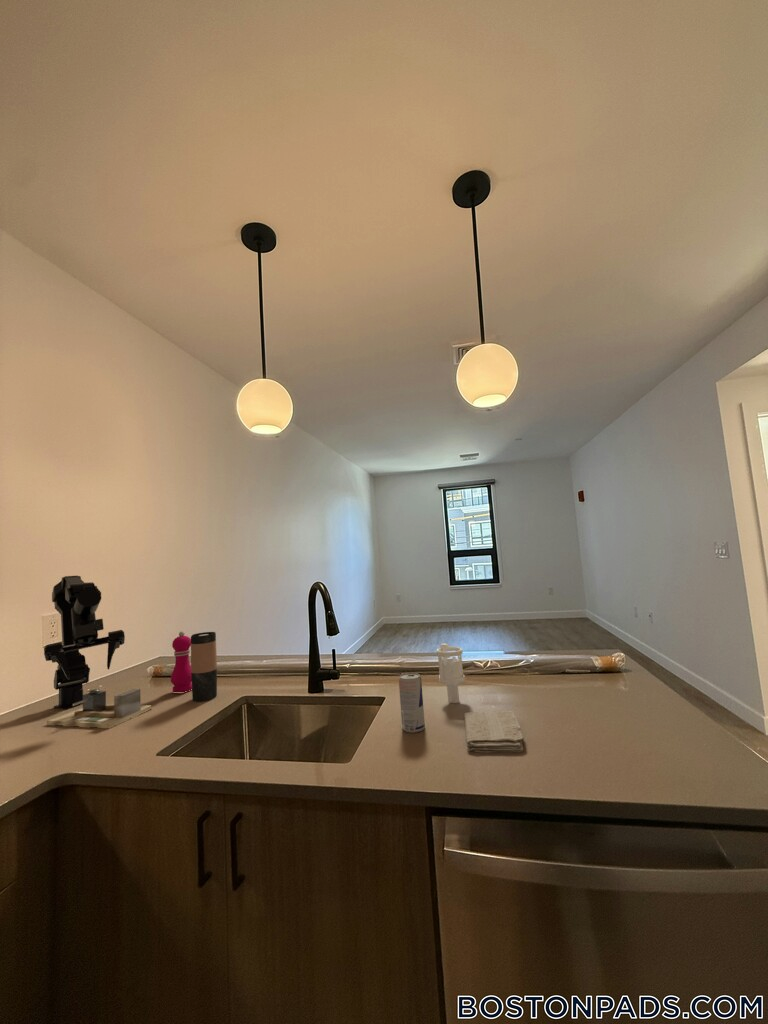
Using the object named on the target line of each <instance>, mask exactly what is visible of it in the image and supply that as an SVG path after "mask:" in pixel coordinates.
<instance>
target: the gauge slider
mask: <svg viewBox="0 0 768 1024" xmlns="http://www.w3.org/2000/svg"><path fill="white" fill-rule="evenodd" d="M106 692H107V691H106V690H100V688H96V689H91V690H89V692H88V693H86V694H83V700H82V701H79V702H77V703H74V704H73V707H76V706H78V704H79V705H81V703H82V707H83V711H95V712H100V711H102V710H105V709H106V704H107V701H106V700H107V698H106V697H107V693H106ZM75 705H76V706H75Z"/></svg>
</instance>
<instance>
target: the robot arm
mask: <svg viewBox="0 0 768 1024" xmlns="http://www.w3.org/2000/svg"><path fill="white" fill-rule="evenodd" d="M101 600H102V591H101V590H100V589H99V588H98V586H97V585H95V583H94V582H85V581H84V580H82V577H81V576H80V575H64V576H63V577H61V580H60V582H58V583H57V584H55V585H53V589H52V592H51V602H52V603H54V609H55V610H56V611H57V612H58V613H59V614H60V621H61V622H60V627H61V641H59V642H54V643H49V644H46V645H45V646H44V647H43V654H44V658H45V661H46V662H50V661H51V663H57V666H56V668H57V669H55V671H54V672H55V673H54V676H53V677H54V678H53V688H54V689H55V690H56V691H57V690H58V704H57V705H54V706H53V708H54V709H70V708H73V707H76V706H78V705H81V704H82V705H83V703H81V704H78V705H75V706H73V704H74V703H77V702H79V701H82V700H83V695H84V687H83V684H88V682H90V671H91V668H90V667H89V665H88V663H87V661H86V656H85V655H84V654H82V653H81V652H80V650H82V649H87V648H92V647H97V646H102V645H105V644H107V659H106V661H107V662H106V667H107V670H110V667H111V664H112V660H113V656H114V653H115V651H116V650H117V649H119V648H120V646H122V645H124V644H125V639H126V636H125V631H124V630H122V629H119V630H114V631H108V633H107V636H103V637H99V633H98V631H104V629H105V628H104V621H103V618H98V619H97V617H96V612H97V611H98V610H97V609H98V608H99V605H100V603H101Z"/></svg>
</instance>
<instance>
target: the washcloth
mask: <svg viewBox="0 0 768 1024" xmlns="http://www.w3.org/2000/svg"><path fill="white" fill-rule="evenodd" d="M463 715H464V716H463V717H464V718H463V719H464V724H465V725H464V729H465V743H466V747H467V748H466V750H467V752H468V753H469V752H477V753H521V752H523V751H524V746H523V741H522V740H524V736H523V733H522V728H521V726H520V724H519V721H518V719H517V717H516V716H515V713H514V711H513V710H497V711H489V712H485V711H481V712H480V711H476V712H474V711H473V712H472V711H471V712H464V714H463Z"/></svg>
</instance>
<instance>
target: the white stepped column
mask: <svg viewBox="0 0 768 1024" xmlns="http://www.w3.org/2000/svg"><path fill="white" fill-rule="evenodd" d="M436 655H437V658H438V659H437V661H438V671H439V672H438V674H439V676H438V682H439V683H440V684H444V685H446V690H447V691H446V692H447V702H448V703H449V704H458V703H459V702H460V695H459V694H460V693H459V684H462V683H464V682H466V678H465V677H466V676H465V674H464V669H463V658H462V655H463V648H462V647H460V646H450V645H449V644H448V643H440V647H439V648H436ZM456 656H457V657H456ZM451 657H452V658H451Z"/></svg>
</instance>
